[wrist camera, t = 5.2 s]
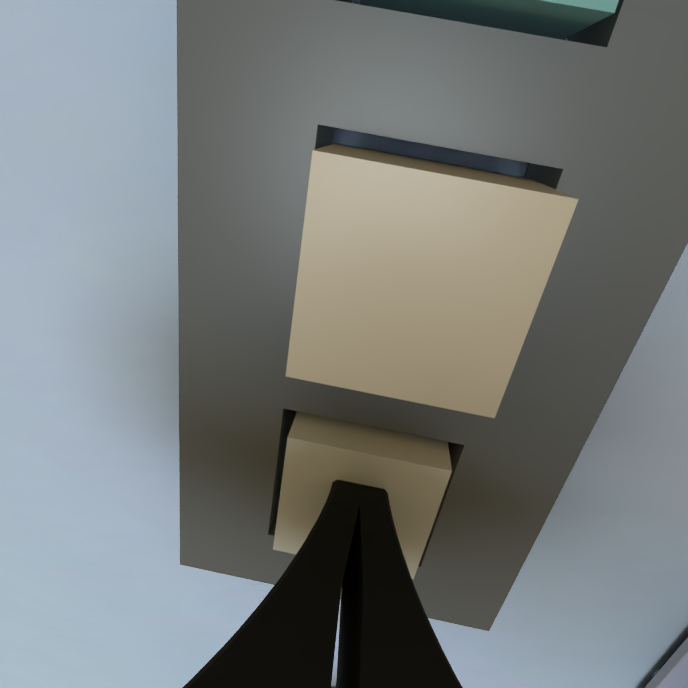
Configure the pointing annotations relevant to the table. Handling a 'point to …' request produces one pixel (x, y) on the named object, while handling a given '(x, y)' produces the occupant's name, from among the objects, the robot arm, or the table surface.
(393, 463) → the key ivory
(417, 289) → the block
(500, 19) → the key teal
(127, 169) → the table surface
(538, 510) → the keypad
